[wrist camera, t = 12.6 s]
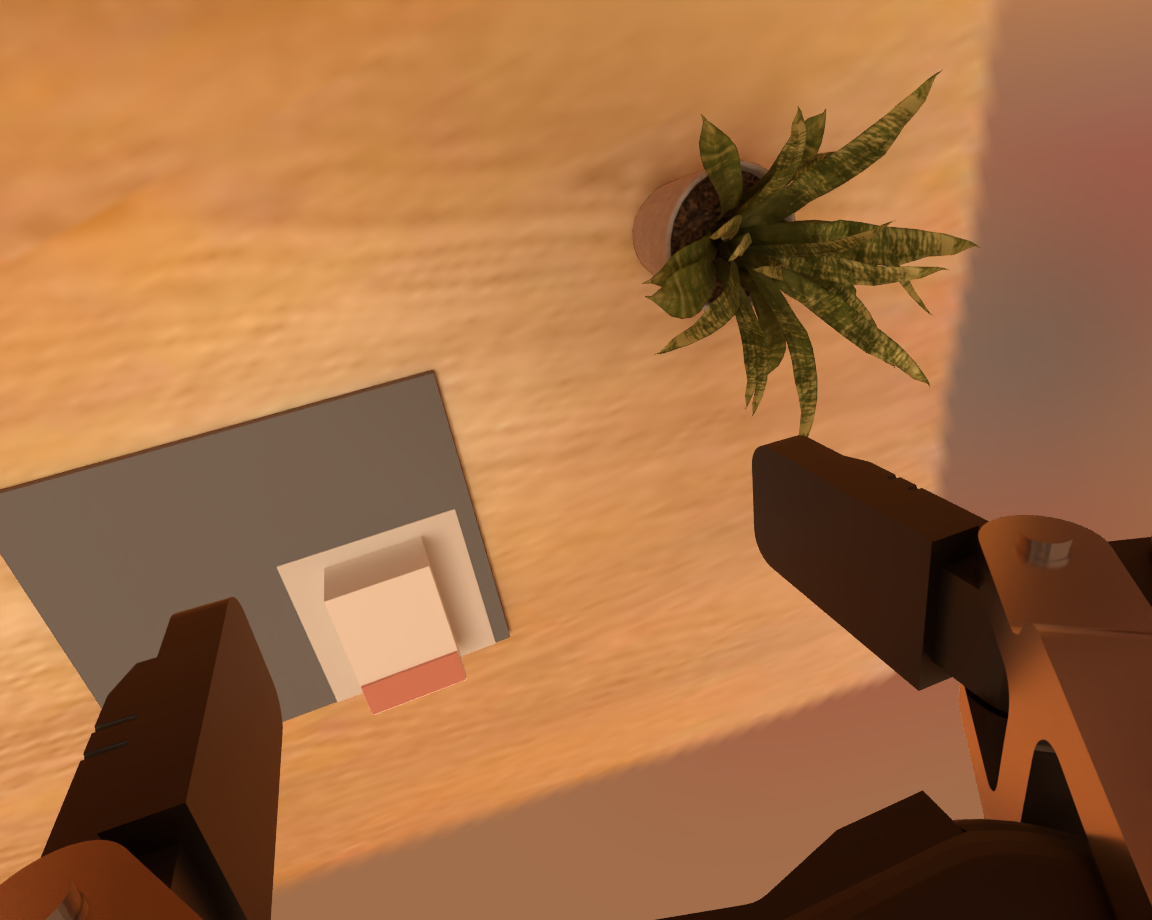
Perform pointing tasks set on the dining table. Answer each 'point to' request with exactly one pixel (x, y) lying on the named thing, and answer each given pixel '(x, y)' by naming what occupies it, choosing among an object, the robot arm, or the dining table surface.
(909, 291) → the house plant
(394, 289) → the dining table surface
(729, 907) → the robot arm
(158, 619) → the mat
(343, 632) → the card box
